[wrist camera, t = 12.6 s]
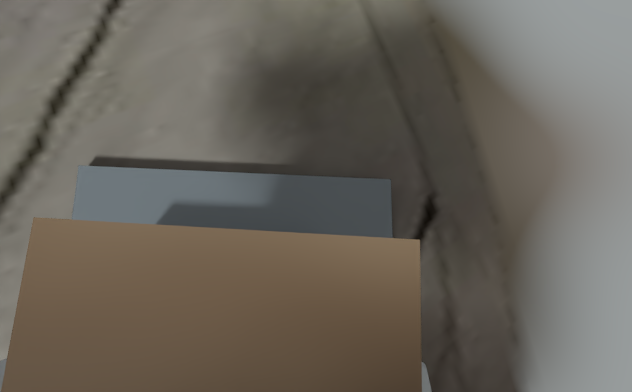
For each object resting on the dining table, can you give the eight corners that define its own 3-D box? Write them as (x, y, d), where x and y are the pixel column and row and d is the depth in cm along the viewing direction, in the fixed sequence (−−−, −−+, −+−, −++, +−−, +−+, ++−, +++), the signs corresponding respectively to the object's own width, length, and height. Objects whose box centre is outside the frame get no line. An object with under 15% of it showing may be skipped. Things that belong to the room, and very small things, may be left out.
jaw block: (311, 420, 17) (426, 688, 5) (171, 418, 16) (-60, 710, 5) (317, 281, 18) (420, 239, 6) (186, 275, 17) (33, 217, 6)
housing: (395, 504, 22) (416, 532, 19) (39, 523, 20) (7, 559, 17) (386, 182, 26) (402, 169, 23) (84, 169, 23) (62, 152, 21)
